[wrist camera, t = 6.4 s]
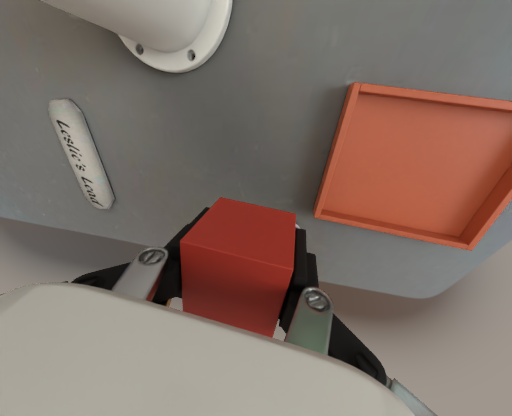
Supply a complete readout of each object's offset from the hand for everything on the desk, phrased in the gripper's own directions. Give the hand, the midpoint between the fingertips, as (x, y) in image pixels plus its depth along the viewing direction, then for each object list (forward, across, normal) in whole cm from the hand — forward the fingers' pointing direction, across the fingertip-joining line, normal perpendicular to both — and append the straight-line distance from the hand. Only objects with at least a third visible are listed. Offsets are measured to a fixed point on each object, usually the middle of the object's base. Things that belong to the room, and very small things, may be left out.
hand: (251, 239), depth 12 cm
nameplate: (+13, +27, +3) cm, 30 cm away
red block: (0, 0, 0) cm, 0 cm away
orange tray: (+13, -13, -4) cm, 19 cm away
